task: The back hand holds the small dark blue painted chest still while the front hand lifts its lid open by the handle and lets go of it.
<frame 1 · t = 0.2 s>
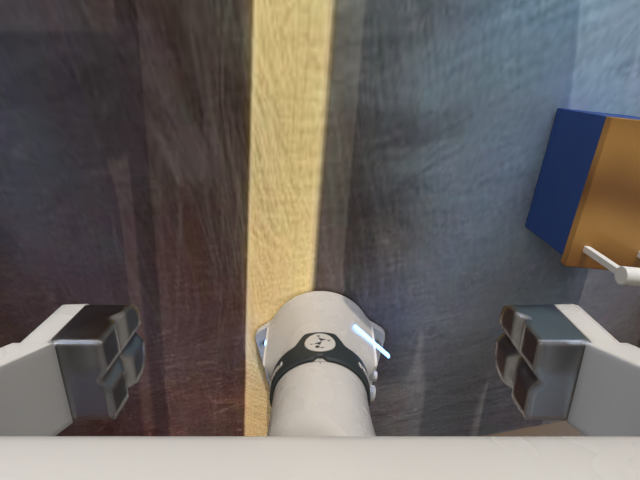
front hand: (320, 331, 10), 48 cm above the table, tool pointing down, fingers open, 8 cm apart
chest: (577, 173, 57), on the table
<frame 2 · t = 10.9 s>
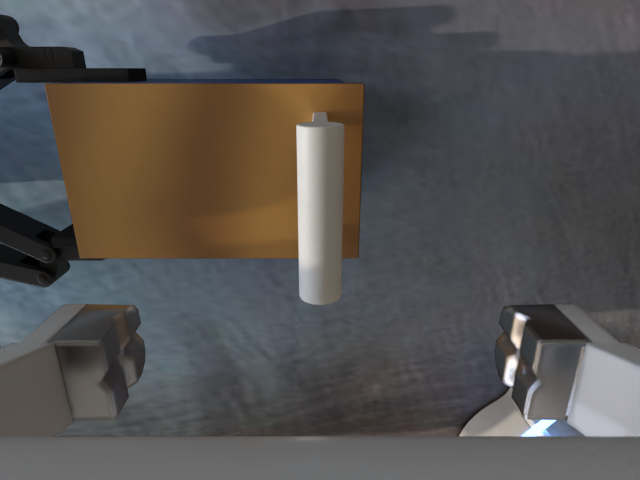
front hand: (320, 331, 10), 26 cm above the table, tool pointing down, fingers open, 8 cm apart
chest: (238, 145, 34), on the table, touching back hand
lid: (196, 193, 21), point 14 cm above the table, hinge at 0.0°
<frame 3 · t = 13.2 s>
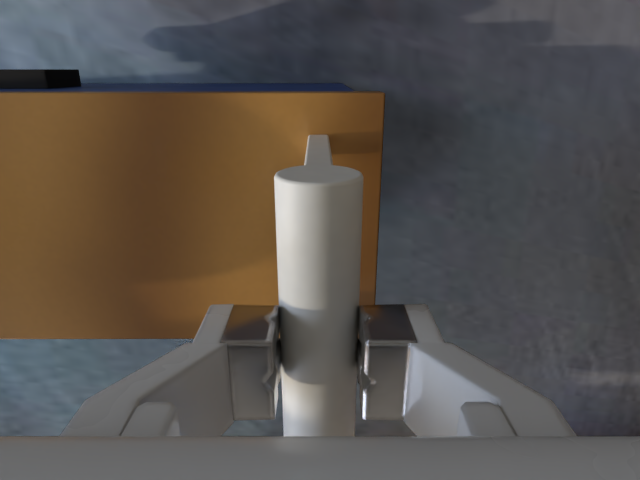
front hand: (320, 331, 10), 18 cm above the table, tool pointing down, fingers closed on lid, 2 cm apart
chest: (214, 167, 27), on the table, touching back hand
lid: (125, 265, 13), point 14 cm above the table, hinge at -0.1°, touching front hand
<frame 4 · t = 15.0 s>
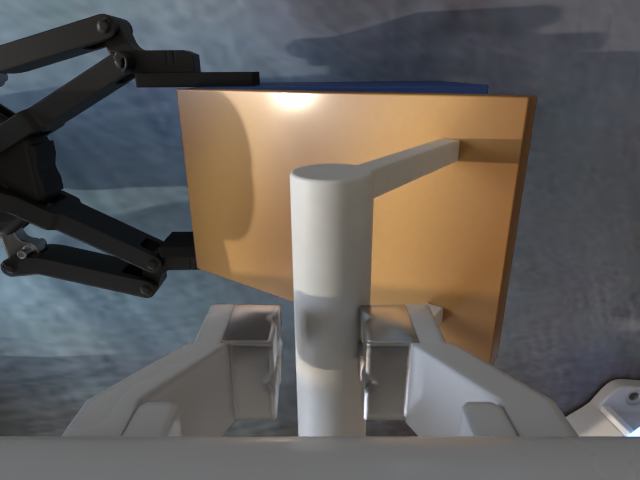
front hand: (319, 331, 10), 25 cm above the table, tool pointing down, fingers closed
chest: (333, 149, 34), on the table, touching back hand
lid: (255, 231, 17), point 18 cm above the table, hinge at 35.9°, touching front hand
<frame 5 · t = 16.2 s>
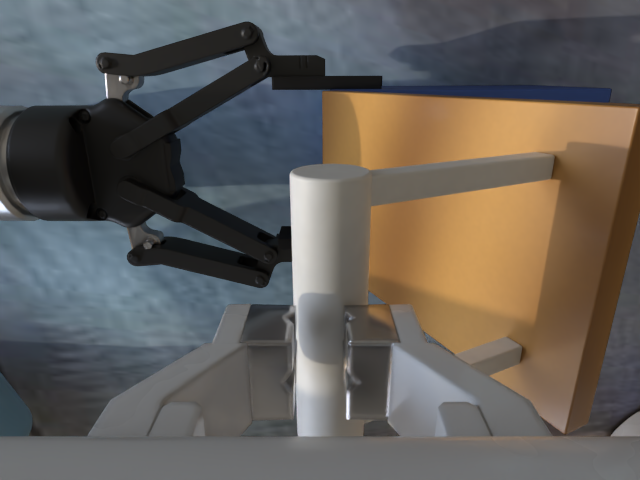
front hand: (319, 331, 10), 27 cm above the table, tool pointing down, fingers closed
back hand: (376, 164, 30), fingers closed on chest, 9 cm apart
chest: (427, 149, 35), on the table, touching back hand
lid: (340, 227, 17), point 19 cm above the table, hinge at 62.2°, touching front hand
when the back hand's fingers open (6 cm above the table, at t = 20.0 s): chest stays where it is, on the table.
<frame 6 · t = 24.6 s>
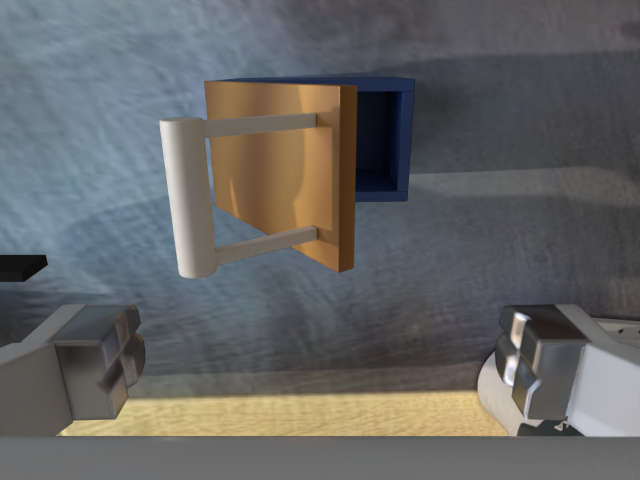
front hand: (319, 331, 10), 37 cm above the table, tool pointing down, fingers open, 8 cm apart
chest: (315, 128, 45), on the table
lid: (211, 169, 27), point 19 cm above the table, hinge at 54.1°
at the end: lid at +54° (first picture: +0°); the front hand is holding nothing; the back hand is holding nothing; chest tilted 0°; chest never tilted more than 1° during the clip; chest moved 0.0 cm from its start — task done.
